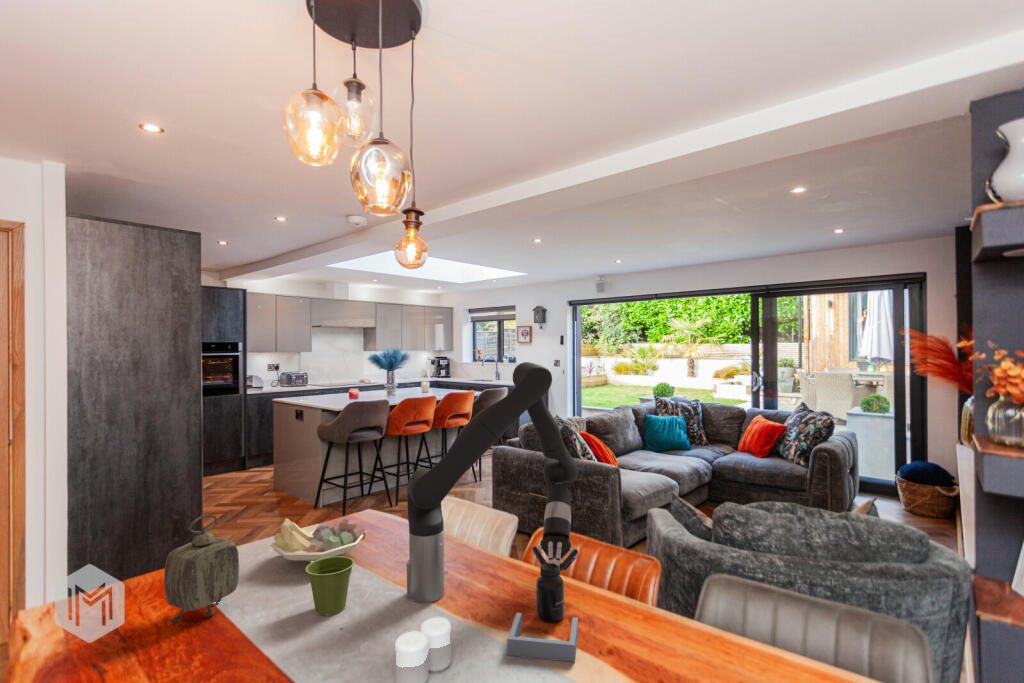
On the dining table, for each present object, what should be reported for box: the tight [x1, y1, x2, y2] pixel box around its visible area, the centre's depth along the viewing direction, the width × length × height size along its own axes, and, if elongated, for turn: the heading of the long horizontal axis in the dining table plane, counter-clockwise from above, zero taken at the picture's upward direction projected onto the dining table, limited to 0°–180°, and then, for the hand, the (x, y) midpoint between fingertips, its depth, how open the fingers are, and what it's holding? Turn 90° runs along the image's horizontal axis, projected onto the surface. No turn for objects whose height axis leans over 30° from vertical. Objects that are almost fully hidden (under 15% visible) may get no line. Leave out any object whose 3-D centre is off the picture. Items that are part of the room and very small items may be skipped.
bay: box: [506, 612, 579, 663], centre depth 114 cm, size 14×11×4 cm
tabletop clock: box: [163, 513, 240, 624], centre depth 129 cm, size 14×9×25 cm, turn 154°
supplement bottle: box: [535, 562, 565, 623], centre depth 126 cm, size 7×7×12 cm
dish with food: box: [270, 518, 368, 562], centre depth 162 cm, size 28×28×14 cm
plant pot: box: [305, 555, 355, 616], centre depth 131 cm, size 12×12×11 cm
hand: (553, 585), depth 133 cm, fingers closed
